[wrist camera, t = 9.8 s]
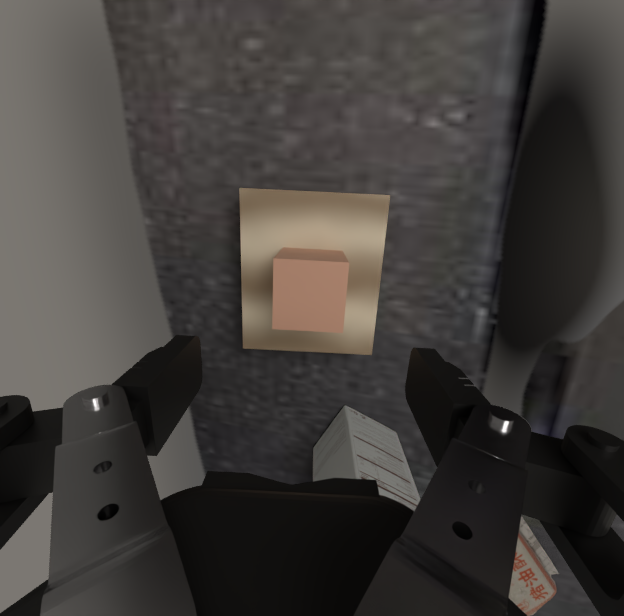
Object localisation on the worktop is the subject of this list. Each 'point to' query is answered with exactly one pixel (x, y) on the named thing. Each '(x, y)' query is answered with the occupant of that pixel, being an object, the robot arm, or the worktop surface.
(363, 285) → the birch base
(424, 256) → the worktop surface
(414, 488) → the supplement box
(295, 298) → the terracotta block
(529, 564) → the packaged product
